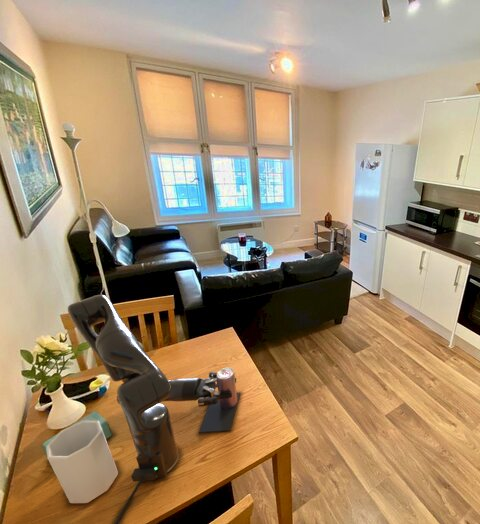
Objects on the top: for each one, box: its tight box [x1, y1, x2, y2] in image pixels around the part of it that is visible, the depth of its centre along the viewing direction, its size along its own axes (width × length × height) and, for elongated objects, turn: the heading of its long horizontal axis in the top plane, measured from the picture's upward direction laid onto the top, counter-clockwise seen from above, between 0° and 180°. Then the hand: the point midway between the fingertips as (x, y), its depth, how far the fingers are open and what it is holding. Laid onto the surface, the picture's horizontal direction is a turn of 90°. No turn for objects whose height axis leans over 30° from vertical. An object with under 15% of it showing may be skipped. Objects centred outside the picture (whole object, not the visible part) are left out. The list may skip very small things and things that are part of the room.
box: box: [41, 410, 113, 458], centre depth 89 cm, size 7×14×8 cm, turn 153°
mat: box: [199, 392, 241, 434], centre depth 105 cm, size 16×10×1 cm, turn 8°
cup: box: [46, 421, 119, 504], centre depth 78 cm, size 11×11×18 cm
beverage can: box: [216, 366, 237, 409], centre depth 105 cm, size 6×6×15 cm
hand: (233, 387), depth 105 cm, fingers closed on beverage can, 6 cm apart
